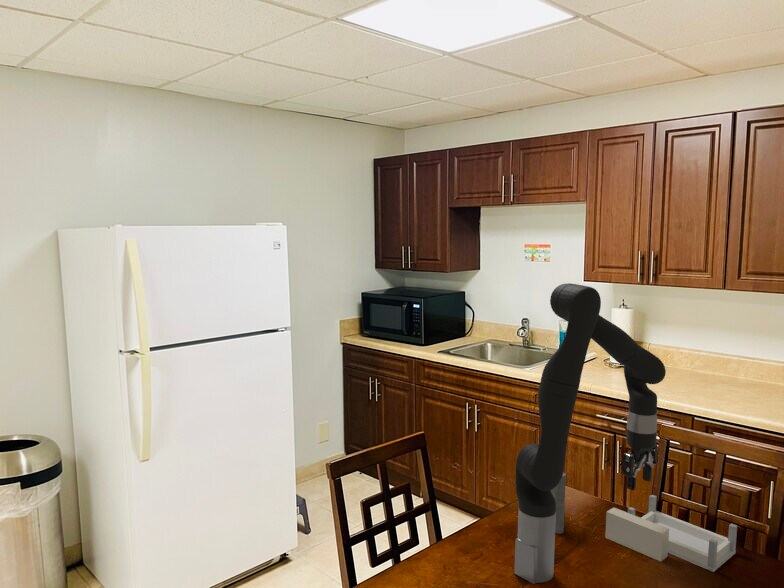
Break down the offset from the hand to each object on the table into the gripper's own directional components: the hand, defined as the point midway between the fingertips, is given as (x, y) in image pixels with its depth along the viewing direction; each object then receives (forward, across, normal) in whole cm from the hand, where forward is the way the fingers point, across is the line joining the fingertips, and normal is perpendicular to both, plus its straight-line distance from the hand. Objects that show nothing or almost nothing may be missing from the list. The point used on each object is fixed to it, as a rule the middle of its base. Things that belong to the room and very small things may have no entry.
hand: (639, 484), depth 163 cm
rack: (+18, +11, -7) cm, 22 cm away
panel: (+18, 0, 0) cm, 18 cm away
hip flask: (+18, -6, +24) cm, 31 cm away
